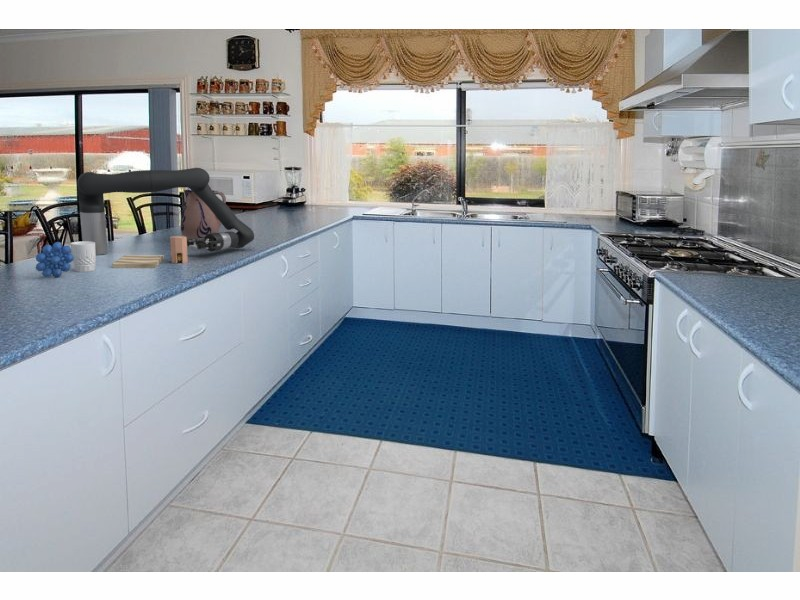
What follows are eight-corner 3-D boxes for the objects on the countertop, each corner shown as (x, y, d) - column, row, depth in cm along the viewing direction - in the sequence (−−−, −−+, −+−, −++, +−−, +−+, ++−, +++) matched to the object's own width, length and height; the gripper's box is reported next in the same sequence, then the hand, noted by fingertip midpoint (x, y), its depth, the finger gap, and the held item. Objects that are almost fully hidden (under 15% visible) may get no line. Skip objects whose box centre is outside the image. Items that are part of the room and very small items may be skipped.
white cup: (73, 268, 227) (71, 241, 225) (97, 268, 230) (95, 241, 228) (72, 272, 220) (70, 244, 218) (97, 271, 224) (95, 244, 221)
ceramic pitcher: (182, 240, 307) (180, 188, 301) (227, 239, 313) (225, 189, 307) (180, 245, 291) (177, 190, 285) (227, 245, 296) (225, 191, 291)
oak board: (124, 258, 251) (124, 255, 250) (163, 258, 254) (163, 255, 253) (112, 267, 232) (112, 263, 231) (155, 267, 235) (154, 263, 234)
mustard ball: (176, 261, 250) (175, 253, 249) (184, 261, 250) (184, 253, 250) (174, 262, 247) (174, 254, 246) (183, 262, 247) (182, 254, 246)
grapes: (73, 273, 219) (70, 239, 216) (76, 277, 213) (73, 242, 211) (35, 276, 212) (31, 241, 209) (37, 280, 207) (34, 244, 204)
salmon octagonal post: (171, 260, 250) (170, 235, 248) (187, 260, 252) (186, 235, 250) (171, 263, 245) (170, 237, 242) (187, 263, 247) (186, 237, 244)
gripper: (204, 231, 269) (176, 234, 255) (230, 234, 263) (203, 237, 249) (205, 248, 271) (177, 252, 256) (231, 251, 265) (203, 256, 250)
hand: (190, 245), depth 253 cm, fingers open, 8 cm apart
